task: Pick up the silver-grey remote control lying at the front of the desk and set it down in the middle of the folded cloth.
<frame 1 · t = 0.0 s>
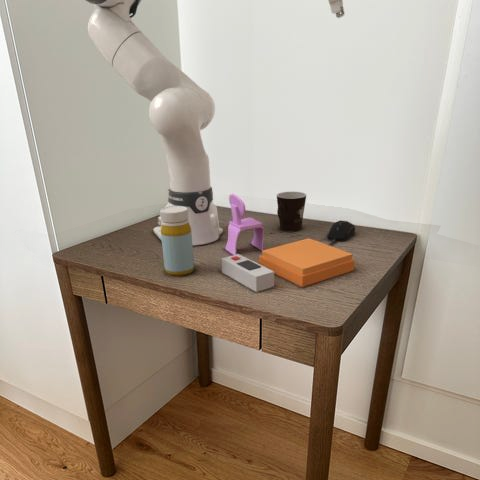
hand: (338, 14, 98), 52 cm above the table, tool tilted 20°, fingers open, 8 cm apart
toy chair: (244, 250, 123), on the table
gaming mouse: (339, 237, 130), on the table
folded cloth: (305, 268, 110), on the table
remote: (247, 279, 105), on the table
black cup: (286, 229, 137), on the table
bottle: (180, 271, 110), on the table
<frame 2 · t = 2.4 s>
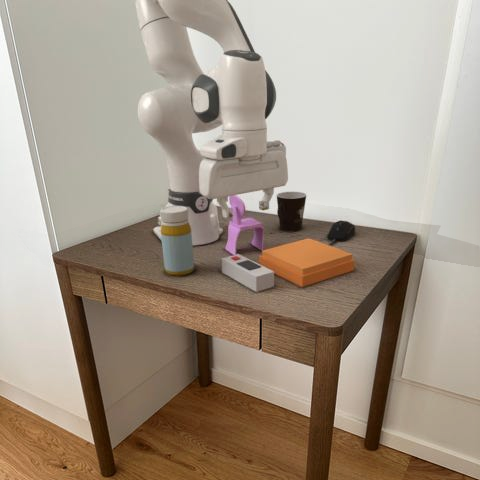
hand: (246, 213, 97), 15 cm above the table, tool pointing down, fingers open, 8 cm apart
nothing on the table moved.
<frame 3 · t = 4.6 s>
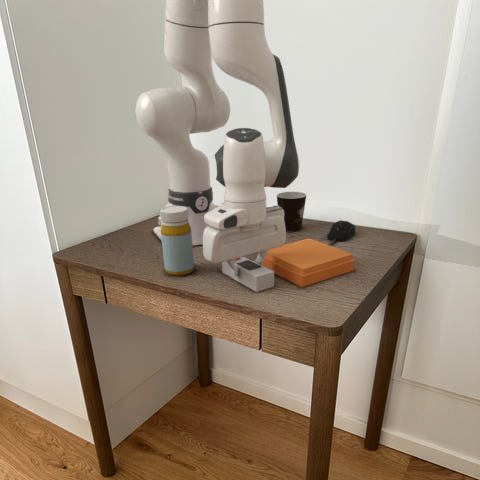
hand: (246, 272, 104), 2 cm above the table, tool pointing down, fingers closed on remote, 5 cm apart
remote: (247, 279, 105), on the table, touching gripper
everything else where it was.
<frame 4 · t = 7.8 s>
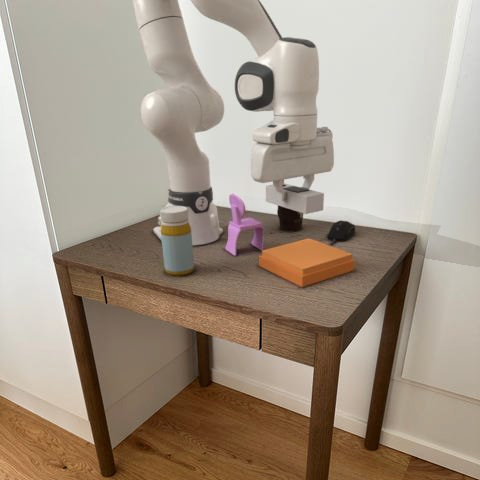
hand: (293, 198, 100), 17 cm above the table, tool pointing down, fingers closed on remote, 5 cm apart
remote: (293, 205, 101), point 15 cm above the table, touching gripper
everything else where it was.
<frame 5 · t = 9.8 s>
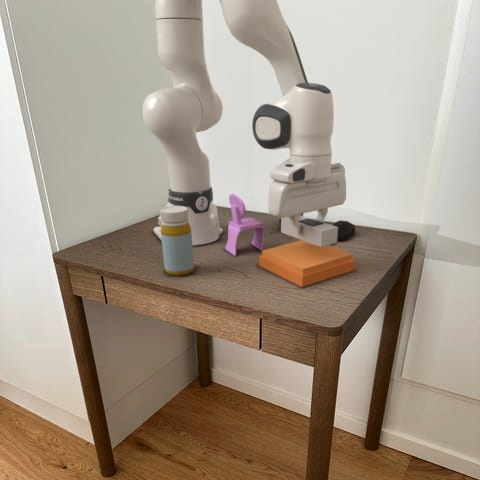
hand: (307, 230, 105), 9 cm above the table, tool pointing down, fingers closed on remote, 5 cm apart
remote: (307, 237, 106), point 8 cm above the table, touching gripper
everything else where it was.
when the fingers open (6 cm above the table, at t = 11.2 s): remote stays where it is, resting on folded cloth.
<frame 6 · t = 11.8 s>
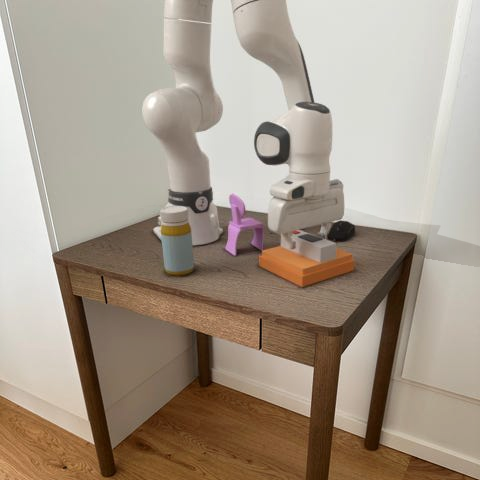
hand: (306, 244, 107), 6 cm above the table, tool pointing down, fingers open, 8 cm apart
remote: (307, 252, 108), point 4 cm above the table, touching folded cloth
everything else where it was.
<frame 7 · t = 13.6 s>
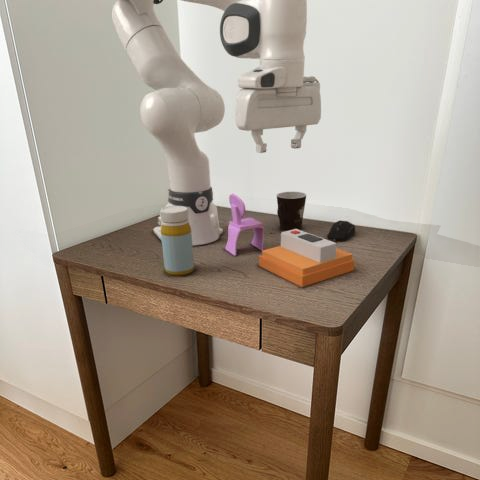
hand: (278, 150, 98), 27 cm above the table, tool pointing down, fingers open, 8 cm apart
nothing on the table moved.
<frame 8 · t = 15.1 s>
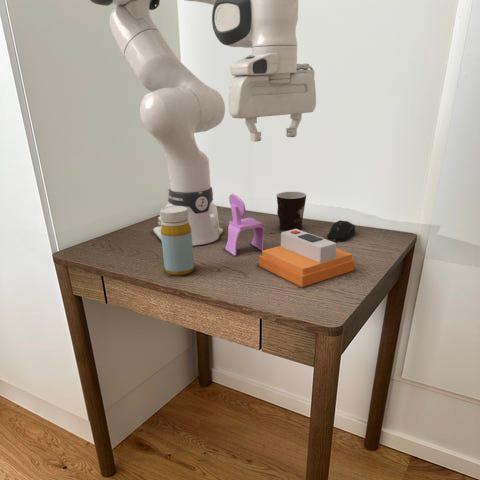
hand: (274, 139, 97), 29 cm above the table, tool pointing down, fingers open, 8 cm apart
nothing on the table moved.
at the end: remote inside the target area on the folded cloth (0.1 cm from its centre), point 4.0 cm above the folded cloth's base; remote touching folded cloth; the gripper is holding nothing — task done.
